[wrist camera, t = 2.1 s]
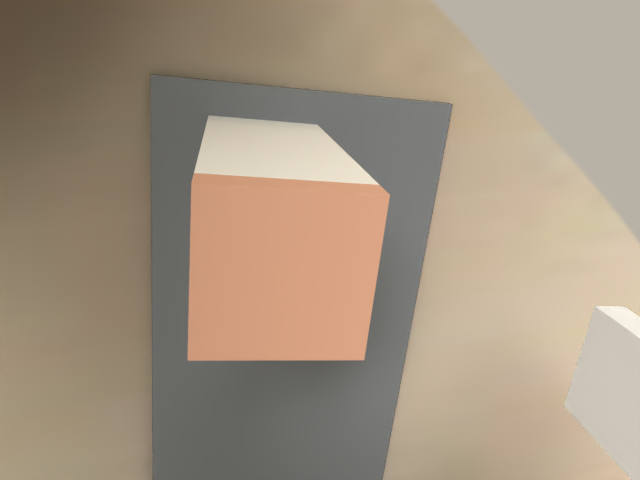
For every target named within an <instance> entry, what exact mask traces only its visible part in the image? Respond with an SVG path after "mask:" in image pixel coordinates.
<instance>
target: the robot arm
mask: <svg viewBox="0 0 640 480" xmlns="http://www.w3.org/2000/svg"><path fill="white" fill-rule="evenodd" d="M564 407H565V408H566V409H567V410H568V411H569V412H570V413H571V414H572V416H573V417H574V418H575V419H576V420H577V421H578V422H579V423H580V424H581V425H582V426H583V428H584V429H585V430H586V431H587V432H588V433H589V434H590V435H591V436H592V437H593V438H594V439H595V441H596V442H597V443H598V444H599V445H600V446H601V447H602V448H603V449H604V450H605V451H606V452H607V454H608V455H609V456H610V457H611V458H612V459H613V460H614V461H615V462H616V463H617V464H618V466H619V467H620V468H621V469H622V470H623V471H624V472H625V473H626V474H627V475H628V476H629V477H630V479H631V480H640V317H639V316H638V315H636V314H635V313H633V312H632V311H630V310H629V309H627V308H626V307H617V306H595V308H594V311H593V314H592V317H591V320H590V324H589V327H588V330H587V333H586V336H585V340H584V343H583V346H582V349H581V353H580V356H579V359H578V362H577V365H576V369H575V372H574V375H573V378H572V382H571V385H570V388H569V391H568V394H567V398H566V401H565V404H564Z"/></svg>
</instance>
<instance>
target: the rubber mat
mask: <svg viewBox="0 0 640 480" xmlns="http://www.w3.org/2000/svg"><path fill="white" fill-rule="evenodd" d="M452 105H453V104H450V103H441V102H431V101H421V100H410V99H400V98H390V97H380V96H369V95H359V94H349V93H338V92H328V91H318V90H307V89H297V88H287V87H277V86H266V85H256V84H246V83H235V82H225V81H215V80H204V79H194V78H184V77H174V76H163V75H153V74H152V75H151V235H152V433H153V480H382V479H383V473H384V468H385V463H386V457H387V452H388V447H389V441H390V436H391V431H392V425H393V420H394V415H395V409H396V404H397V399H398V393H399V388H400V383H401V377H402V372H403V367H404V361H405V356H406V351H407V345H408V340H409V335H410V329H411V324H412V319H413V313H414V308H415V303H416V297H417V292H418V287H419V281H420V276H421V271H422V265H423V260H424V255H425V249H426V244H427V239H428V233H429V228H430V222H431V217H432V212H433V206H434V201H435V196H436V190H437V185H438V180H439V174H440V169H441V164H442V158H443V153H444V148H445V142H446V137H447V132H448V126H449V121H450V116H451V110H452ZM209 115H210V116H222V117H234V118H246V119H258V120H270V121H281V122H293V123H305V124H317V125H318V126H319V127H320V128H321V129H322V130H323V131H324V132H326V133H327V134H328V135H329V136H330V137H331V138H332V139H333V140H334V141H335V142H336V143H337V144H338V145H339V146H340V147H341V148H342V149H343V150H344V151H345V152H346V153H347V154H348V155H349V156H350V157H351V158H352V159H353V160H354V161H356V162H357V163H358V164H359V165H360V166H361V167H362V168H363V169H364V170H365V171H366V172H367V173H368V174H369V175H370V176H371V177H372V178H373V179H374V180H375V181H376V182H377V183H378V184H379V185H380V186H381V187H382V188H383V189H384V190H385V191H387V192H388V193H389V194H390V198H389V205H388V211H387V217H386V224H385V230H384V237H383V243H382V249H381V256H380V262H379V269H378V275H377V281H376V288H375V294H374V301H373V307H372V313H371V320H370V326H369V333H368V339H367V345H366V352H365V358H364V360H251V361H187V360H188V315H189V269H190V223H191V182H192V178H193V175H194V171H195V167H196V163H197V159H198V155H199V151H200V147H201V143H202V139H203V135H204V131H205V127H206V123H207V119H208V116H209Z"/></svg>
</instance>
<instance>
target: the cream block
mask: <svg viewBox="0 0 640 480" xmlns="http://www.w3.org/2000/svg"><path fill="white" fill-rule="evenodd" d="M389 198H390V194H389V193H388V192H387V191H385V190H384V189H383V188H382V187H381V186H380V185H379V184H378V183H377V182H376V181H375V180H374V179H373V178H372V177H371V176H370V175H369V174H368V173H367V172H366V171H365V170H364V169H363V168H362V167H361V166H360V165H359V164H358V163H357V162H356V161H354V160H353V159H352V158H351V157H350V156H349V155H348V154H347V153H346V152H345V151H344V150H343V149H342V148H341V147H340V146H339V145H338V144H337V143H336V142H335V141H334V140H333V139H332V138H331V137H330V136H329V135H328V134H327V133H326V132H324V131H323V130H322V129H321V128H320V127H319V126H318V125H317V124H305V123H293V122H281V121H270V120H258V119H246V118H234V117H222V116H210V115H209V116H208V119H207V123H206V127H205V131H204V135H203V139H202V143H201V147H200V151H199V155H198V159H197V163H196V167H195V171H194V175H193V178H192V182H191V223H190V269H189V315H188V360H187V361H251V360H364V358H365V352H366V345H367V339H368V333H369V326H370V320H371V313H372V307H373V301H374V294H375V288H376V281H377V275H378V269H379V262H380V256H381V249H382V243H383V237H384V230H385V224H386V217H387V211H388V205H389Z"/></svg>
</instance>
